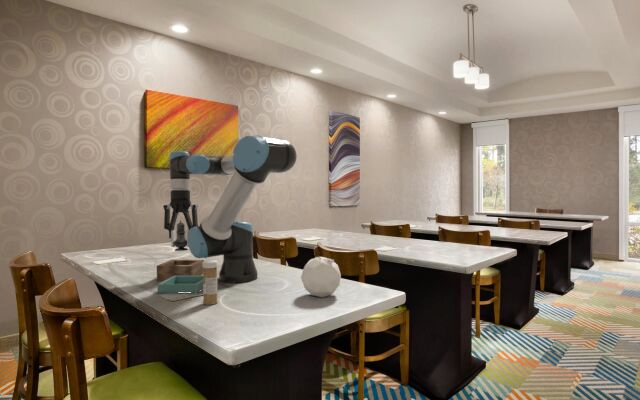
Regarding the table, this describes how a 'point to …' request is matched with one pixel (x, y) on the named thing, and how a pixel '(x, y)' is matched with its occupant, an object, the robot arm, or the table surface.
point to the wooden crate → (179, 269)
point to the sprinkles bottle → (209, 282)
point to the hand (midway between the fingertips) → (181, 246)
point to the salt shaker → (180, 238)
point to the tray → (181, 284)
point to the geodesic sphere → (321, 276)
